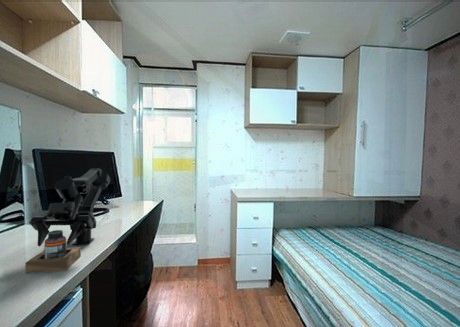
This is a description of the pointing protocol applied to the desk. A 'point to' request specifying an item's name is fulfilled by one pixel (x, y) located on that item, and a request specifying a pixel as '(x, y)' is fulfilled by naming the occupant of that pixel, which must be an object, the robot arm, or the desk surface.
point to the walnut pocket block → (52, 262)
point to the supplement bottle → (55, 245)
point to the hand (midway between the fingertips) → (53, 245)
